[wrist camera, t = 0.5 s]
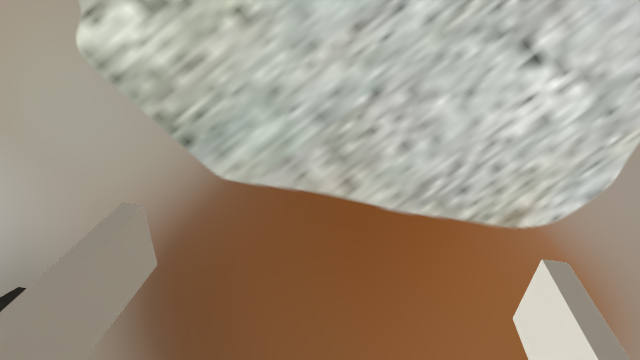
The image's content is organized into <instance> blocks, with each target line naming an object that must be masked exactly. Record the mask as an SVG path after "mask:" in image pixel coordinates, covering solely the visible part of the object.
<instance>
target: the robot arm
mask: <svg viewBox="0 0 640 360" xmlns="http://www.w3.org/2000/svg"><path fill="white" fill-rule="evenodd" d="M156 266H157V262H156V257H155V253H154V249H153V245H152V240H151V236H150V232H149V228H148V223H147V220H146V215H145V211H144V207H143V205H136V204H129V203H122V204H120V205H119V206H118V207H117V208H116V209H115V210H114V211H113V212H112V213H110V214H109V215H108V216H107V217H106V218H105V219H104V220H103V221H102V222H100V223H99V224H98V225H97V226H96V227H95V228H94V229H93V230H92V231H90V232H89V233H88V234H87V235H86V236H85V237H84V238H82V239H81V240H80V241H79V242H78V243H77V244H76V245H75V246H74V247H72V248H71V249H70V250H69V251H68V252H67V253H66V254H65V255H64V256H62V257H61V258H60V259H59V260H58V261H57V262H56V263H54V264H53V265H52V266H51V267H50V268H49V269H48V270H47V271H46V272H44V273H43V274H42V275H41V276H40V277H39V278H38V279H37V280H36V281H34V282H33V283H32V284H31V285H30V286H29V287H28V288H21V287H18V288H16V289H15V290H13V291H11V292H9V293H7V294H6V295H4V296H2V297H0V360H85V359H86V357H87V356H88V355H89V353H90V352H91V351H92V349H93V348H94V347H95V346H96V344H97V343H98V342H99V340H100V339H101V338H102V336H103V335H104V334H105V332H106V331H107V330H108V328H109V327H110V326H111V325H112V323H113V322H114V320H115V319H116V318H117V317H118V315H119V314H120V313H121V311H122V310H123V309H124V308H125V306H126V305H127V304H128V302H129V301H130V300H131V298H132V297H133V296H134V294H135V293H136V292H137V290H138V289H139V288H140V287H141V285H142V284H143V282H144V281H145V280H146V279H147V277H148V276H149V274H150V273H151V272H152V271H153V269H154V268H155V267H156ZM513 320H514V323H515V326H516V328H517V331H518V333H519V336H520V339H521V341H522V344H523V347H524V349H525V352H526V354H527V357H528V360H630V358H629V357H628V355H627V354H626V352H625V351H624V349H623V348H622V346H621V344H620V343H619V341H618V340H617V338H616V337H615V335H614V333H613V332H612V331H611V329H610V327H609V326H608V324H607V323H606V321H605V320H604V318H603V317H602V315H601V313H600V312H599V310H598V309H597V307H596V306H595V304H594V302H593V301H592V299H591V298H590V296H589V295H588V293H587V292H586V290H585V289H584V287H583V285H582V284H581V282H580V281H579V279H578V278H577V276H576V274H575V273H574V272H573V270H572V268H571V267H570V265H569V264H568V263H565V262H558V261H550V260H543V259H542V260H541V262H540V264H539V266H538V268H537V270H536V273H535V274H534V276H533V278H532V281H531V283H530V285H529V287H528V289H527V291H526V293H525V295H524V297H523V299H522V301H521V303H520V305H519V307H518V309H517V311H516V313H515V315H514V317H513Z"/></svg>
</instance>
